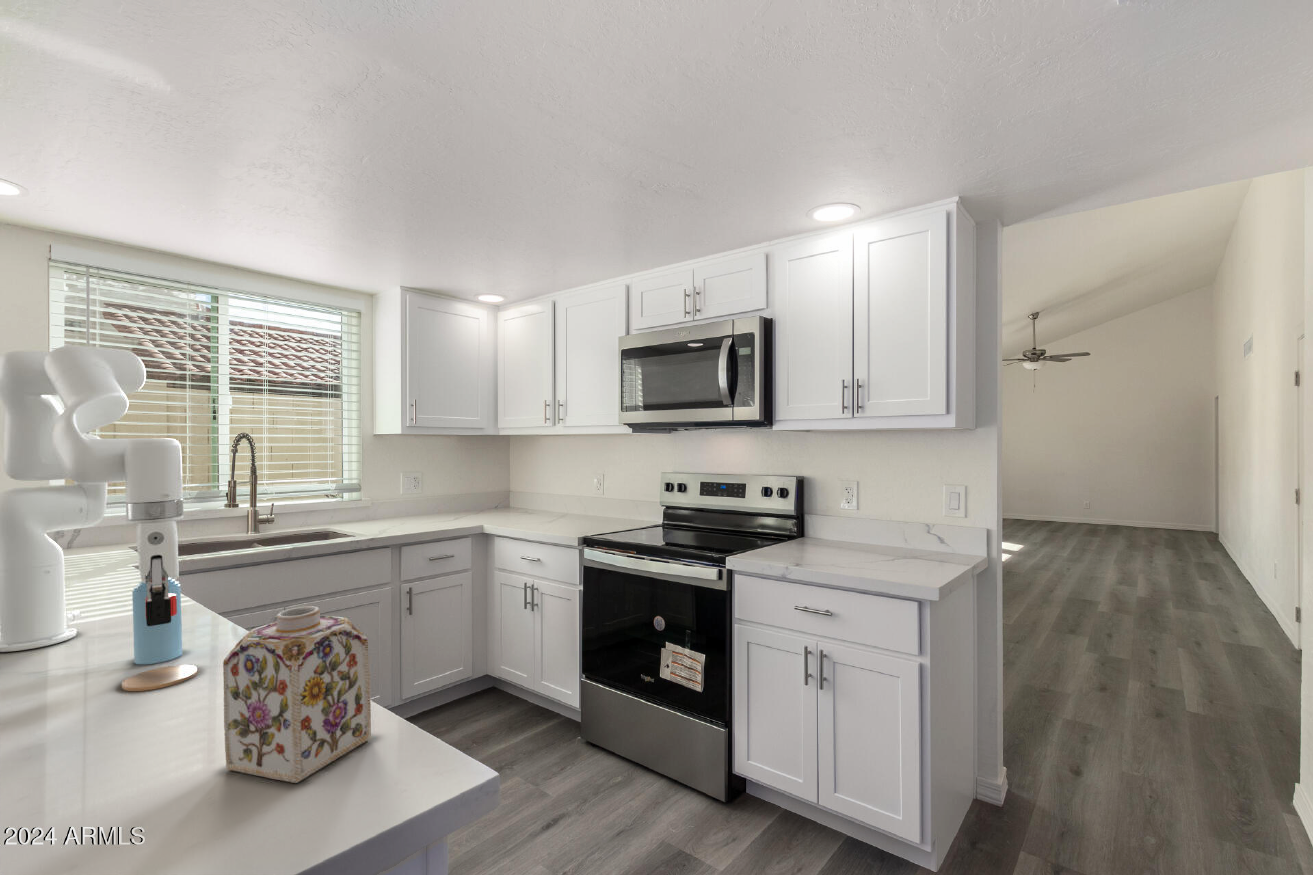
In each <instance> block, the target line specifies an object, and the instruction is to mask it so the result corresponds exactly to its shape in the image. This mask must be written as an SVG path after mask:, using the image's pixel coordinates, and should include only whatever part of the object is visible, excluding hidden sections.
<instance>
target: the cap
mask: <svg viewBox="0 0 1313 875" xmlns="http://www.w3.org/2000/svg"><path fill="white" fill-rule="evenodd" d="M164 595H165V594H164ZM168 596H169V598H171V616H174V615H176V614H177V599H176V594H168ZM164 599H165V597H164ZM145 601H146V602H147V598H146V599H145ZM146 602H145V611H146Z"/></svg>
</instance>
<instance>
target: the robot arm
mask: <svg viewBox="0 0 1313 875" xmlns="http://www.w3.org/2000/svg"><path fill="white" fill-rule="evenodd" d="M146 378H147V371H146V367H145V364H144V363H143V360H142V359H141V358H140V357H139V356H138V355H137V354H135V353H134V352H132V351H130V350H126V349H121V348H110V347H100V346H99V347H97V346H89V345H88V346H87V345H64V346H60V347H57V348H55V349H52V350H51V351H46V350H45V351H44V350H13V351H7V352H5V353H3V354H1V355H0V400H1V403H2V407H3V410H4V424H3V427H4V428H3V450H2V451H3V452H2V463H3V469H4V472H5V474H6V475H7V477H9V478H10V479H13V480H15V481H22V482H23V481H24V482H38V481H39V482H40V481H56V480H57V481H59V480H72V481H73V482H74V483H70V484H55V485H52V484H50V485H48V484H47V485H33V486H21V487H15V488H8V489H6V490H3V491H1V492H0V653H6V652H7V653H9V652H19V651H27V650H33V649H37V648H38V649H39V648H43V647H48V646H51V645H55V644H58V643H62V642H66V641H68V640H71V639H73V638H74V637H75V636H76V635H77V629H76V628H75V627H69V624H70V623H71V622H74V621H77V620H79V619H80V618H81V617H82V614H81V612H80V611H79V610H74V611H71V612H68V611H67V612H66V582H65V579H66V578H65V556H64V551H63V549H62V547H60V545H59V544H58V543H56V542H55V541H54V540H53V539H51V537H49V536H48V535H47V533H52V532H60V531H68V530H77V529H83V528H90V527H94V526H97V525H98V524H100V523H101V522H102V520H103V519H104V517H105V515H106V510H107V498H108V484H116V483H124V484H125V485H124V486H125V512H126V514H125V516H126V524H130V525H132V524H134V525H135V524H136V525H135V527H136V548H137V549H136V550H137V561H138V568H139V574H140V579H141V581H142V582H143V583H145V584H146V582H147V602H146V624H147V626H155V625H161V624H167V623H170V622H171V598H169V596H168V594H171V593H169V587H168V578H171V577H172V578H173V579H174V580H175V581H176V580H178V579H179V577H180V572H179V571H180V570H179V569H180V565H179V563H180V560H179V534H178V525H177V521H180V520H182V519H184V487H183V462H182V460H183V458H182V446H181V443H180V442H179V441H178V440H176V439H175V438H167V437H166V438H163V437H161V438H159V437H158V438H157V437H156V438H150V437H149V438H148V437H147V438H146V437H143V438H140V437H138V438H123V437H122V438H119V437H118V438H100V437H99V436H97V435H95V434H92V433H89V432H92V431H95V430H98V429H101V428H103V427H106V426H109V425H112V424H113V423H115V422H117V421H119V420H121V418H122V417H124V415H125V414H126V413H127V410H128V408H129V400H128V397H127V395H130V394H133V393H136V392H138V391H140V390H141V389H142V387H143V386H144V385H145V383H146ZM53 396H58V397H59V399H60V401H61V402H62V404H63V406H64V408H65V409H64V410H63V408H62V407H61V405H60V404H59V402H57V400H56V399H55V398H54V397H53ZM168 576H169V577H168ZM141 581H140V582H141ZM164 594H165V595H164ZM164 597H165V599H164Z"/></svg>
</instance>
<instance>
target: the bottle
mask: <svg viewBox="0 0 1313 875" xmlns="http://www.w3.org/2000/svg"><path fill="white" fill-rule="evenodd" d="M168 577H169V576H168ZM168 587H169V593H171V594H176V599H177V614H176V615H174V616H171V622H170V623H167V624H161V625H155V626H147V624H146V611H145V602H146V601H145V599H146V598H147V582H146V584H145V583H143V582H142V581H140V583H138V584H137V585H136V586H134V587H133V590H132V591H131V595H132V596H131V597H132V600H131V601H132V625H133V626H132V629H133V661H134V662H133V663H134V664H135V665H141V666H142V665H153V664H159V663H165V662H168V661H171V660H175V659H177V658H179V657H181V656H182V655H183V627H182V626H183V625H182V594H181V593H182V592H181V584H180V582H179V581H176V580H174V578H173V577H171V578H168Z"/></svg>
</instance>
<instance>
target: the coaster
mask: <svg viewBox="0 0 1313 875" xmlns="http://www.w3.org/2000/svg"><path fill="white" fill-rule="evenodd" d="M196 675H198V668H197V666H195V665H189V664H179V665H178V664H177V665H169V666H163V667H158V668H152V669H149V670H145V671H142V672H139V673H137V674H134V675H131V676H129V677H127V678H125V679H124V680H123V681H122V683H121V689H122V690H123V691H125V692H126V691H127V692H144V691H152V690H159V689H162V688H168V687H171V686H174V685H178V684H181V683H183V682H186V681H188V680H190V679H192V678H194V677H195V676H196Z"/></svg>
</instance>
